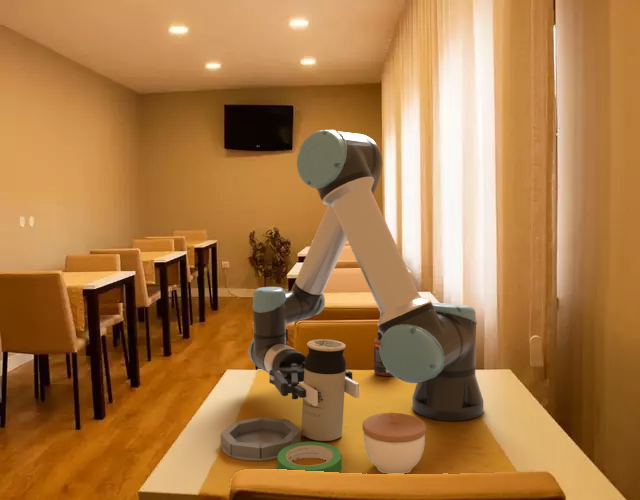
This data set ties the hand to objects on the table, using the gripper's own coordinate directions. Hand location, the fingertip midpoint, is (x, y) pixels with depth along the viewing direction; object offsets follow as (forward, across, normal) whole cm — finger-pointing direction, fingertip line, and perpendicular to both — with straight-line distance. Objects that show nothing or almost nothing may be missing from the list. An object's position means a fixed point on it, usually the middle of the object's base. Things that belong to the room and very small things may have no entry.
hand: (337, 394), depth 114 cm
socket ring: (-7, +12, -10) cm, 17 cm away
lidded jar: (+13, -4, -10) cm, 17 cm away
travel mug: (-5, +1, -10) cm, 11 cm away
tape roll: (+6, +9, -10) cm, 15 cm away
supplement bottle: (-33, -32, -10) cm, 48 cm away
